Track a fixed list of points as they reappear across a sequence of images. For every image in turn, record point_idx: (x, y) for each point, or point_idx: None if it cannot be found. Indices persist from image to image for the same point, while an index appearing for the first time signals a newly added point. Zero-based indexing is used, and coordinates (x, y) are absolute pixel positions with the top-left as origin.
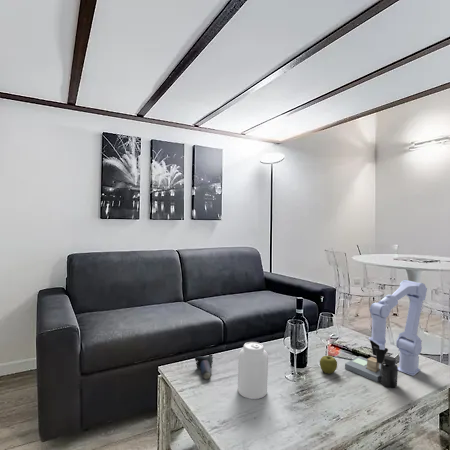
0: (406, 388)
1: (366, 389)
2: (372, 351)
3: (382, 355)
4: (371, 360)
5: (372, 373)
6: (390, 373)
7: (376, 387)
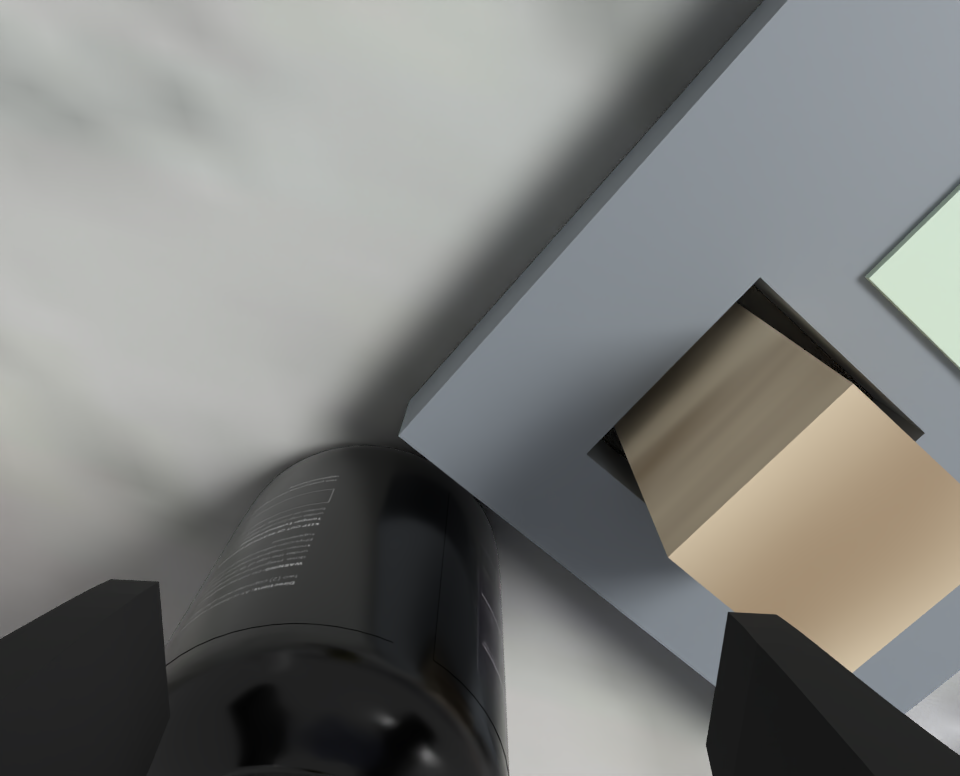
0: None
1: (65, 121)
2: (826, 669)
3: None
4: (766, 478)
5: (529, 374)
6: None
7: (206, 331)
